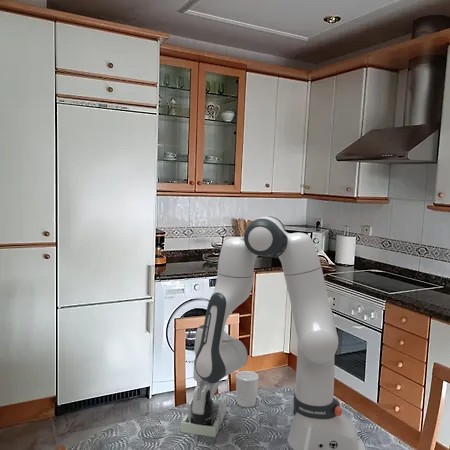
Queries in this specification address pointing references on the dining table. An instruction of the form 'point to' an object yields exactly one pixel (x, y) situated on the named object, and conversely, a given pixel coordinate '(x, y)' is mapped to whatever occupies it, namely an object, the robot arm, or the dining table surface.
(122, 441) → the dining table surface
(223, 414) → the channel
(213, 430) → the dock
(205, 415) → the supplement bottle
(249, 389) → the white cup
